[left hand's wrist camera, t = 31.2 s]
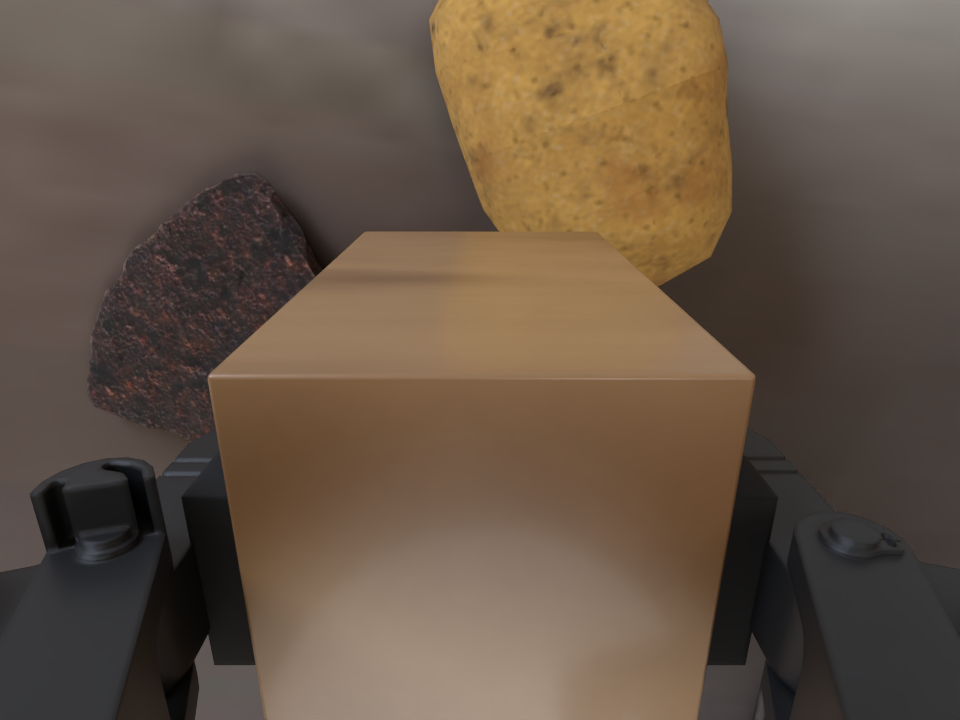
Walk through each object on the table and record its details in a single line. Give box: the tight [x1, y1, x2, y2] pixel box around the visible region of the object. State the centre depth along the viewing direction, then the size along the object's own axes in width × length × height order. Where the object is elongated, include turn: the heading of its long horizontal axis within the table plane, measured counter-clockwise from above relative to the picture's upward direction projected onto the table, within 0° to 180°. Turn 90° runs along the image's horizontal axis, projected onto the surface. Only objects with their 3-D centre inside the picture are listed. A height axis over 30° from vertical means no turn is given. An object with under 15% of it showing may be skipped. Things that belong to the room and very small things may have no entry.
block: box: [208, 232, 756, 720], centre depth 12 cm, size 6×6×10 cm
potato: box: [429, 0, 732, 287], centre depth 22 cm, size 9×13×7 cm
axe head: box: [87, 173, 323, 442], centre depth 27 cm, size 18×8×15 cm
